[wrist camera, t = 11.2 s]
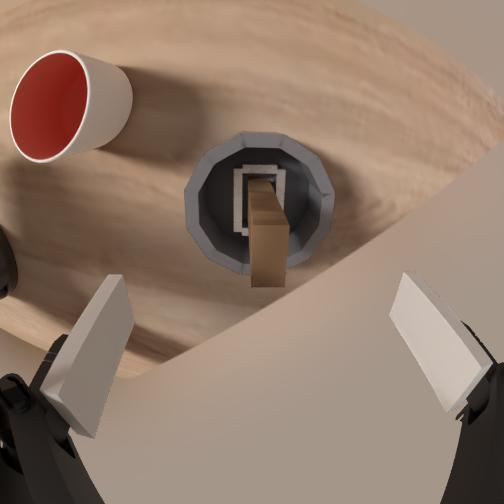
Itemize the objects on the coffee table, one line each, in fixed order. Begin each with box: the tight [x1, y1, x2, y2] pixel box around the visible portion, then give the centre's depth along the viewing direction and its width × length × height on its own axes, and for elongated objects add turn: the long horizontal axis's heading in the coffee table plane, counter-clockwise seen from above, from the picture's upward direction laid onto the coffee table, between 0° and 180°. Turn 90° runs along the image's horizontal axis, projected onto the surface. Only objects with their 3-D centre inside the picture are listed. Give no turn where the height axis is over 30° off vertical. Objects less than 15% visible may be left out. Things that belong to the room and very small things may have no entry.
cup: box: [10, 50, 133, 163], centre depth 19 cm, size 10×10×10 cm
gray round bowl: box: [184, 131, 335, 275], centre depth 27 cm, size 13×13×6 cm
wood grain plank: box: [247, 176, 290, 287], centre depth 22 cm, size 2×4×14 cm, turn 179°
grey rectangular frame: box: [234, 161, 286, 236], centre depth 27 cm, size 5×7×2 cm
